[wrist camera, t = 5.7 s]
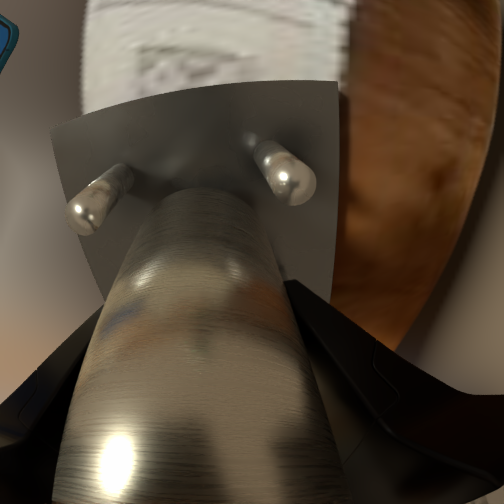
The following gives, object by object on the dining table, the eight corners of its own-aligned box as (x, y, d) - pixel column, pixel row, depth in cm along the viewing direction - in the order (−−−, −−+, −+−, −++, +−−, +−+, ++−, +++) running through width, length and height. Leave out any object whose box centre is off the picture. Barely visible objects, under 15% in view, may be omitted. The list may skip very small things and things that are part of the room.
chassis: (322, 300, 17) (353, 367, 12) (127, 323, 16) (109, 394, 11) (326, 82, 10) (393, 79, 6) (62, 124, 10) (-10, 149, 5)
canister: (272, 294, 12) (337, 537, 4) (156, 308, 12) (131, 545, 3) (265, 175, 10) (436, 530, 1) (121, 197, 9) (-28, 499, 1)
